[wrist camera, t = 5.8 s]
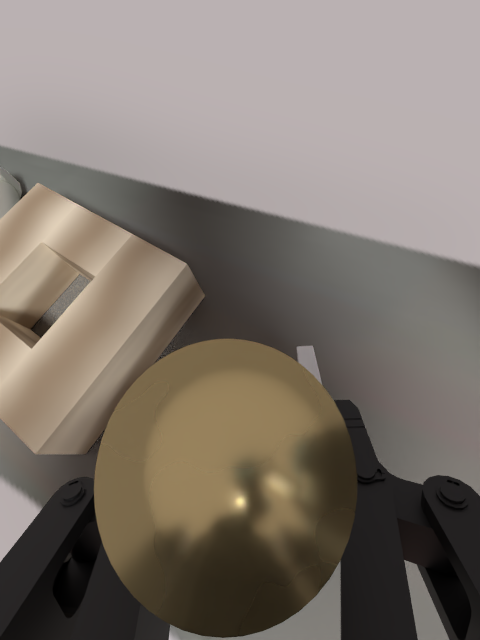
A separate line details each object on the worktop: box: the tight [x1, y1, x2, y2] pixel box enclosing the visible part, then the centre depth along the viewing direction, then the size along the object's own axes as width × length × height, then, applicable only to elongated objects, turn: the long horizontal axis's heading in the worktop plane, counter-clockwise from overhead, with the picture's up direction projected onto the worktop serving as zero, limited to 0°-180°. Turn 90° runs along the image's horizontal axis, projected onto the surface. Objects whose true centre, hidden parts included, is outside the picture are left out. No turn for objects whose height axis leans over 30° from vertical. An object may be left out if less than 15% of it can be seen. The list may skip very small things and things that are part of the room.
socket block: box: [0, 183, 205, 454], centre depth 21 cm, size 14×12×4 cm
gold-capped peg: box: [94, 339, 357, 638], centre depth 11 cm, size 4×4×13 cm
